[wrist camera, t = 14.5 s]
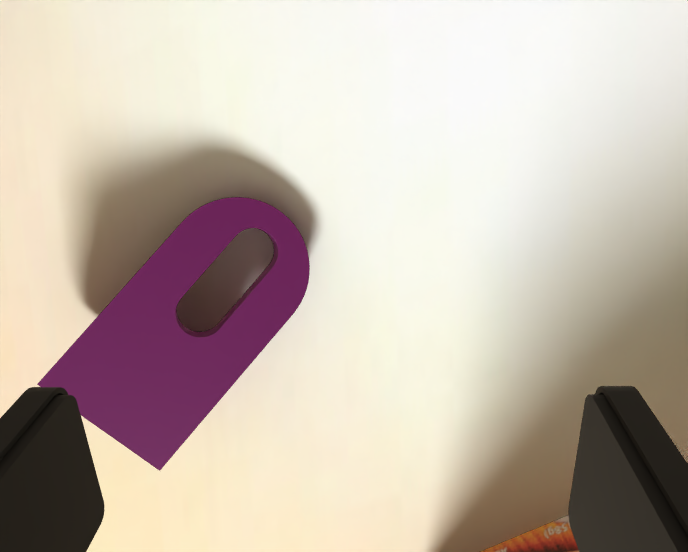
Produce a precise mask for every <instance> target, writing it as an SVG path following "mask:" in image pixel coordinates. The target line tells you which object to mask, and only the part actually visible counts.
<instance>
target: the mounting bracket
mask: <svg viewBox="0 0 688 552" xmlns="http://www.w3.org/2000/svg"><path fill="white" fill-rule="evenodd" d="M248 228H257V229H260V230H262V231H264V232H265V233H266V234H267V235H268V236H269V237H270V238H271V240H272V242H273V246H274V255H273V259H272V261H271V263H270V264H269V266H268V267H267V268H266V269H265V270H264V271H263V272H262V274H261V275H260V276H259V277H258V278H257V279H256V281H255V282H254V283H253V284H252V285H251V286H250V287H249V289H248V290H247V291H246V292H245V293H244V294H243V296H242V297H241V298H240V299H239V300H238V301H237V303H236V304H235V305H234V306H233V307H232V308H231V309H230V311H229V312H228V313H227V314H226V315H225V316H224V318H223V319H222V320H221V321H220V322H219V323H218V324H217V325H216V326H215V327H214V328H212V329H210V330H208V331H204V332H196V331H192V330H189V329H187V328H186V327H185V326H183V325H182V323H181V322H180V321H179V319H178V317H177V313H176V307H177V304H178V302H179V300H180V299H181V298H182V297H183V295H184V294H185V293H186V292H187V291H188V290H189V289H190V288H191V286H192V285H193V284H194V283H195V282H196V281H197V280H198V278H199V277H200V276H201V275H202V274H203V273H204V272H205V270H206V269H207V268H208V267H209V266H210V265H211V264H212V262H213V261H214V260H215V259H216V258H217V257H218V256H219V254H220V253H221V252H222V251H223V250H224V249H225V248H226V247H227V245H228V244H229V243H230V242H231V241H232V240H233V239H234V237H235V236H236V235H237V234H238V233H240V232H241V231H243V230H245V229H248ZM308 280H309V257H308V252H307V248H306V245H305V243H304V240H303V238H302V236H301V234H300V232H299V231H298V229H297V228H296V226H295V225H294V224H293V223H292V222H291V220H290V219H289V218H288V217H287V216H285V215H284V214H283V213H282V212H280V211H279V210H278V209H276V208H274V207H273V206H271V205H269V204H267V203H264V202H262V201H258V200H255V199H250V198H242V197H231V198H224V199H220V200H216V201H213V202H210V203H208V204H206V205H203V206H201V207H200V208H198V209H197V210H195V211H194V212H192V213H191V214H190V215H189V216H188V217H187V218H186V219H185V220H184V221H183V222H182V223H181V224H180V225H179V226H178V227H177V228H176V229H175V231H174V232H173V233H172V234H171V235H170V236H169V237H168V238H167V240H166V241H165V242H164V243H163V244H162V245H161V246H160V247H159V248H158V250H157V251H156V252H155V253H154V254H153V255H152V256H151V257H150V259H149V260H148V261H147V262H146V263H145V264H144V265H143V266H142V268H141V269H140V270H139V271H138V272H137V273H136V274H135V275H134V276H133V278H132V279H131V280H130V281H129V282H128V283H127V284H126V285H125V287H124V288H123V289H122V290H121V291H120V292H119V293H118V294H117V296H116V297H115V298H114V299H113V300H112V301H111V302H110V303H109V304H108V306H107V307H106V308H105V309H104V310H103V311H102V312H101V313H100V315H99V316H98V317H97V318H96V319H95V320H94V321H93V322H92V324H91V325H90V326H89V327H88V328H87V329H86V330H85V331H84V333H83V334H82V335H81V336H80V337H79V338H78V339H77V340H76V341H75V343H74V344H73V345H72V346H71V347H70V348H69V349H68V350H67V352H66V353H65V354H64V355H63V356H62V357H61V358H60V359H59V361H58V362H57V363H56V364H55V365H54V366H53V367H52V368H51V369H50V371H49V372H48V373H47V374H46V375H45V376H44V377H43V378H42V380H41V381H40V382H39V383H38V385H39V386H40V387H62V388H64V389H65V390H66V391H67V393H68V395H72V396H74V397H75V398H76V401H77V404H78V407H79V411H80V415H82V416H83V417H84V418H86V419H87V420H89V421H90V422H91V423H93V424H94V425H96V426H97V427H99V428H100V429H101V430H103V431H104V432H106V433H107V434H108V435H110V436H111V437H113V438H114V439H116V440H117V441H118V442H120V443H121V444H123V445H124V446H126V447H127V448H128V449H130V450H131V451H133V452H134V453H135V454H137V455H138V456H140V457H141V458H143V459H144V460H145V461H147V462H148V463H150V464H151V465H152V466H154V467H155V468H157V469H158V470H161V469H162V467H163V466H164V465H165V464H166V463H167V462H168V460H169V459H170V458H171V457H172V456H173V454H174V453H175V452H176V451H177V450H178V449H179V447H180V446H181V445H182V444H183V443H184V442H185V440H186V439H187V438H188V437H189V436H190V434H191V433H192V432H193V431H194V430H195V429H196V427H197V426H198V425H199V424H200V423H201V422H202V420H203V419H204V418H205V417H206V416H207V414H208V413H209V412H210V411H211V410H212V409H213V407H214V406H215V405H216V404H217V403H218V402H219V400H220V399H221V398H222V397H223V396H224V394H225V393H226V392H227V391H228V390H229V389H230V387H231V386H232V385H233V384H234V383H235V382H236V380H237V379H238V378H239V377H240V376H241V375H242V373H243V372H244V371H245V370H246V369H247V367H248V366H249V365H250V364H251V363H252V362H253V360H254V359H255V358H256V357H257V356H258V355H259V353H260V352H261V351H262V350H263V349H264V347H265V346H266V345H267V344H268V343H269V342H270V340H271V339H272V338H273V337H274V336H275V335H276V333H277V332H278V331H279V330H280V329H281V327H282V326H283V325H284V324H285V323H286V322H287V320H288V319H289V318H290V317H291V316H292V315H293V313H294V312H295V311H296V309H297V308H298V306H299V305H300V303H301V301H302V299H303V297H304V295H305V292H306V289H307V285H308Z"/></svg>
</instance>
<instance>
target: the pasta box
mask: <svg viewBox="0 0 688 552" xmlns="http://www.w3.org/2000/svg"><path fill="white" fill-rule="evenodd" d="M480 552H579V550H578V547H577V544H576V542H575V539H574V536H573V534H572V531H571V527H570V523H569V515H568V516H565V517H563V518H560V519H558V520H556V521H553V522H551V523H548V524H546V525H543V526H541V527H539V528H536V529H534V530H531V531H529V532H526V533H524V534H522V535H519V536H517V537H514V538H512V539H510V540H507V541H505V542H502V543H500V544H497V545H495V546H493V547H490V548H488V549H485V550H483V551H480Z"/></svg>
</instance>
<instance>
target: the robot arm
mask: <svg viewBox="0 0 688 552" xmlns="http://www.w3.org/2000/svg"><path fill="white" fill-rule="evenodd" d="M568 513H569V523H570V527H571V531H572V534H573V536H574V539H575V542H576V544H577V547H578V550H579V552H688V463H687V462H686V461H685V459H684V458H683V456H682V455H681V453H680V452H679V450H678V449H677V447H676V446H675V445H674V443H673V442H672V440H671V439H670V437H669V436H668V434H667V433H666V431H665V430H664V428H663V427H662V425H661V424H660V423H659V421H658V420H657V418H656V417H655V415H654V414H653V412H652V411H651V409H650V408H649V406H648V405H647V403H646V402H645V400H644V399H643V398H642V396H641V395H640V393H639V392H638V390H637V389H636V388H635V387H632V386H600V387H598V389H597V390H596V393H595V395H587V397H586V400H585V405H584V411H583V418H582V424H581V431H580V437H579V444H578V450H577V456H576V463H575V469H574V476H573V482H572V489H571V495H570V502H569V510H568ZM103 516H104V501H103V497H102V493H101V490H100V486H99V482H98V478H97V475H96V471H95V467H94V463H93V460H92V456H91V452H90V449H89V445H88V441H87V437H86V434H85V430H84V426H83V422H82V419H81V415H80V411H79V407H78V404H77V401H76V398H75V397H74V396H72V395H68V393H67V391H66V390H65V389H64V388H62V387H32V388H29V389H28V390H26V391H25V392H24V393H23V394H22V395H21V396H20V397H19V399H18V400H17V401H16V402H15V403H14V404H13V405H12V406H11V407H10V408H9V409H8V411H7V412H6V413H5V414H4V415H3V416H2V417H1V418H0V552H86V551H87V549H88V547H89V545H90V543H91V541H92V540H93V538H94V536H95V534H96V532H97V530H98V528H99V526H100V525H101V522H102V519H103Z"/></svg>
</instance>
